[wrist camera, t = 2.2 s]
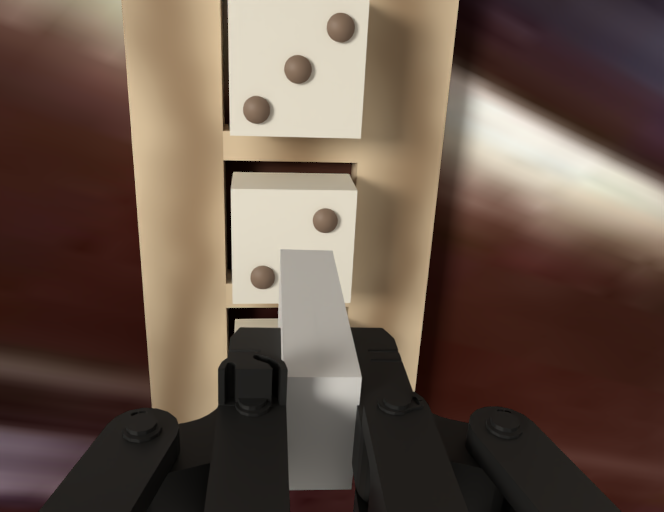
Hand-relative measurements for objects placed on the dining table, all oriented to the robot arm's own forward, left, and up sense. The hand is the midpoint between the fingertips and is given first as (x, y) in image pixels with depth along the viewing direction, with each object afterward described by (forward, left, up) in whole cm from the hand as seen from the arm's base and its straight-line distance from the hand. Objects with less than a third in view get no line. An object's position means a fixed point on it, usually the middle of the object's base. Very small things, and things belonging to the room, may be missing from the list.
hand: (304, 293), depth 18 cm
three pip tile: (0, +5, -15) cm, 16 cm away
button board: (0, -3, -18) cm, 18 cm away
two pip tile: (0, -3, -15) cm, 16 cm away
